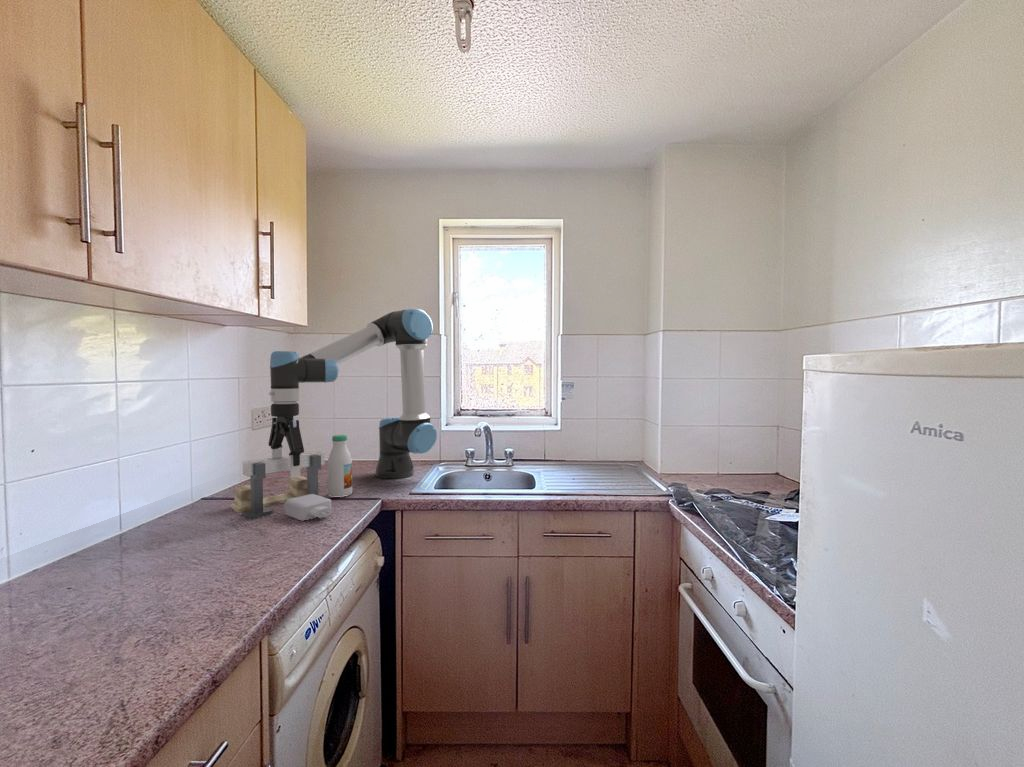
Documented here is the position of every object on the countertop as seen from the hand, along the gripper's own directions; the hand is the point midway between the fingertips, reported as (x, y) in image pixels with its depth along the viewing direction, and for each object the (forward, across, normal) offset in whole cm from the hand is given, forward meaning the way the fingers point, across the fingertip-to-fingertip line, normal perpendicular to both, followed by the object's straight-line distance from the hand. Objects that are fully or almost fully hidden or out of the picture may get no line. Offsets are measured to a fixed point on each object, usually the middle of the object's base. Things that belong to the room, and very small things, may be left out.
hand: (285, 473), depth 133 cm
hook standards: (+11, 0, 0) cm, 11 cm away
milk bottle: (+11, -2, +18) cm, 21 cm away
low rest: (+11, -10, 0) cm, 15 cm away
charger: (+11, +13, +2) cm, 18 cm away
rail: (-1, 0, 0) cm, 1 cm away
